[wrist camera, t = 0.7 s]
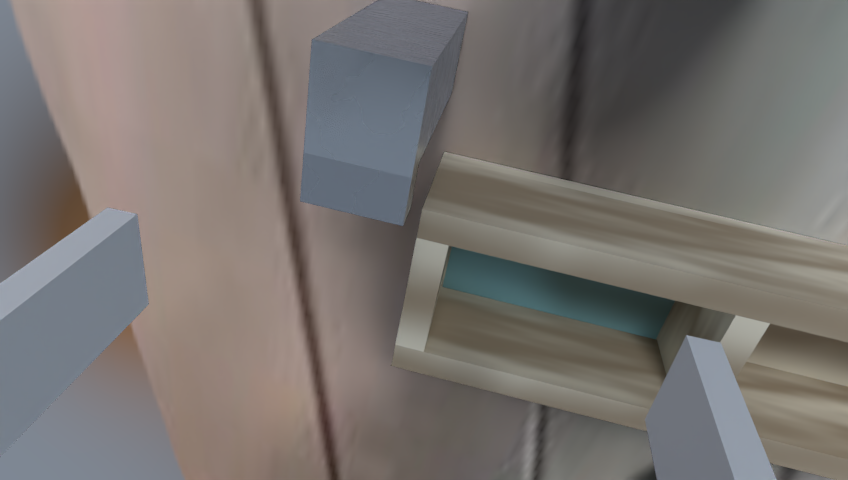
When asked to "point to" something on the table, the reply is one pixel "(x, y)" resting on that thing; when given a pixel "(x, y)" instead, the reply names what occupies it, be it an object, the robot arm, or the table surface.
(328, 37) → the pale blue pillar block
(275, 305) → the table surface
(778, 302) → the well block
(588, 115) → the table surface
